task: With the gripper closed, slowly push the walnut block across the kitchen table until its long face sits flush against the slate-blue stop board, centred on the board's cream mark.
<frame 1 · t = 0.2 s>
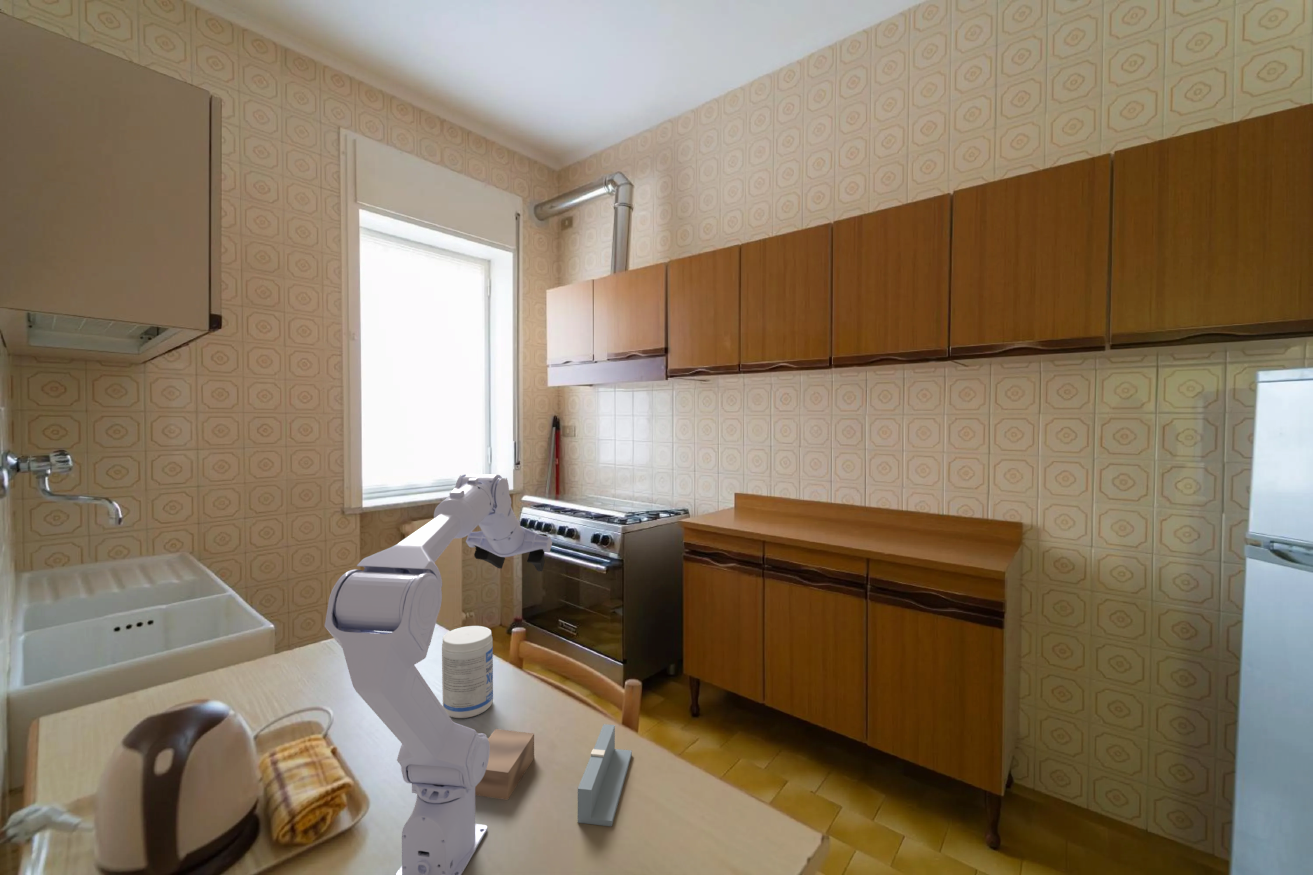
hand: (521, 564, 97), 31 cm above the table, tool tilted 45°, fingers open, 7 cm apart
stop board: (597, 784, 83), on the table
walnut block: (501, 776, 85), on the table
supplement tub: (468, 707, 105), on the table
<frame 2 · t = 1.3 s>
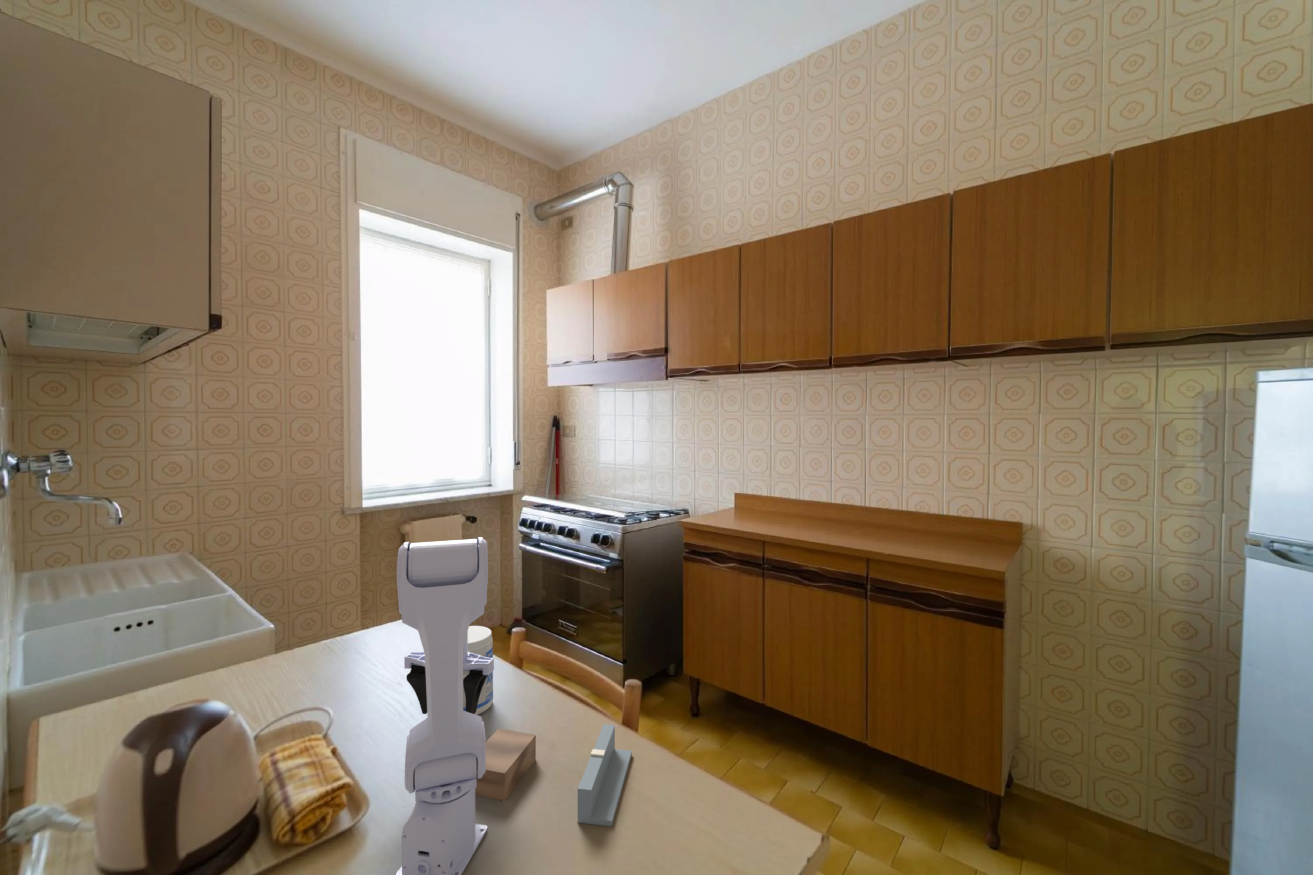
hand: (449, 712, 86), 9 cm above the table, tool pointing down, fingers open, 7 cm apart
nothing on the table moved.
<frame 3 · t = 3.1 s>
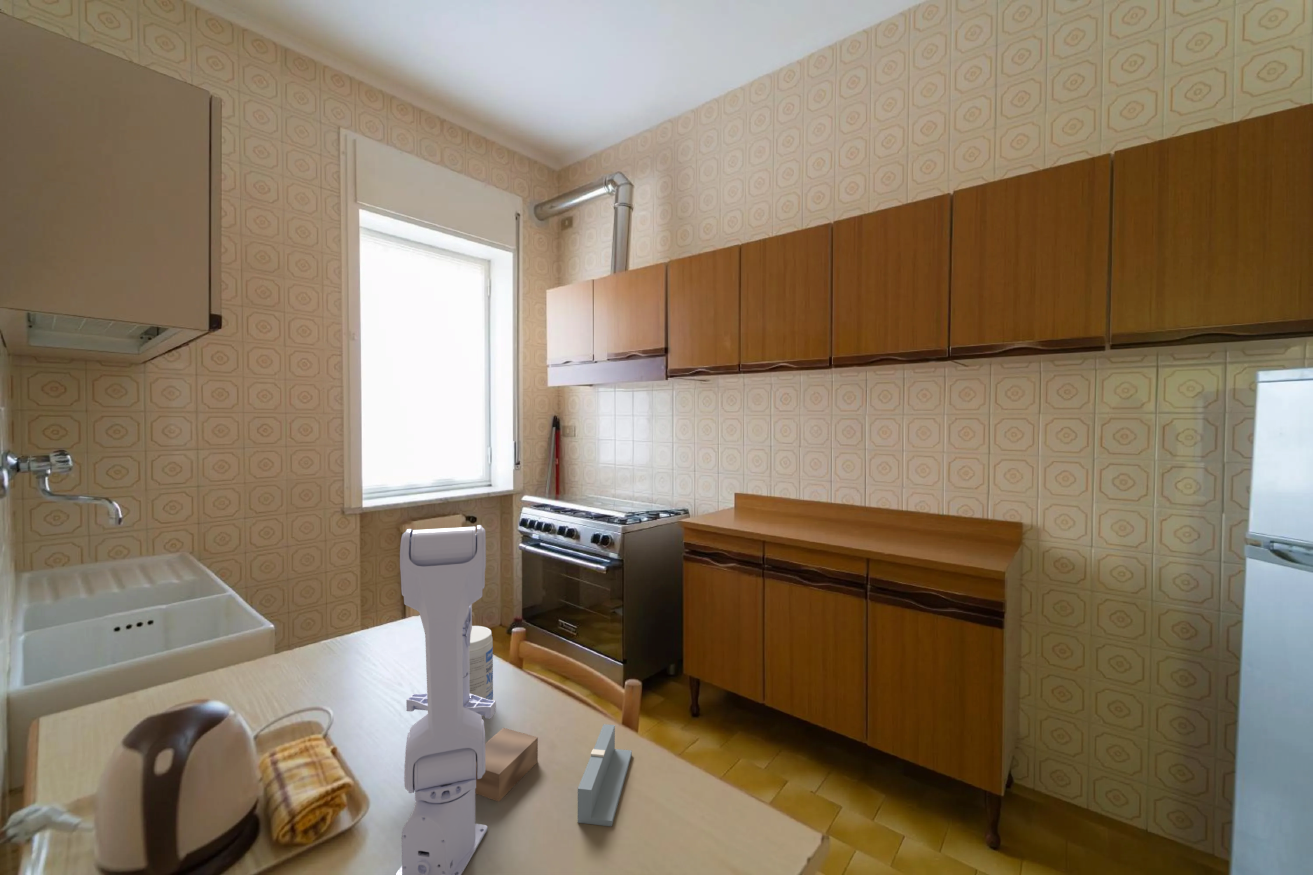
hand: (451, 754, 86), 2 cm above the table, tool pointing down, fingers closed
nothing on the table moved.
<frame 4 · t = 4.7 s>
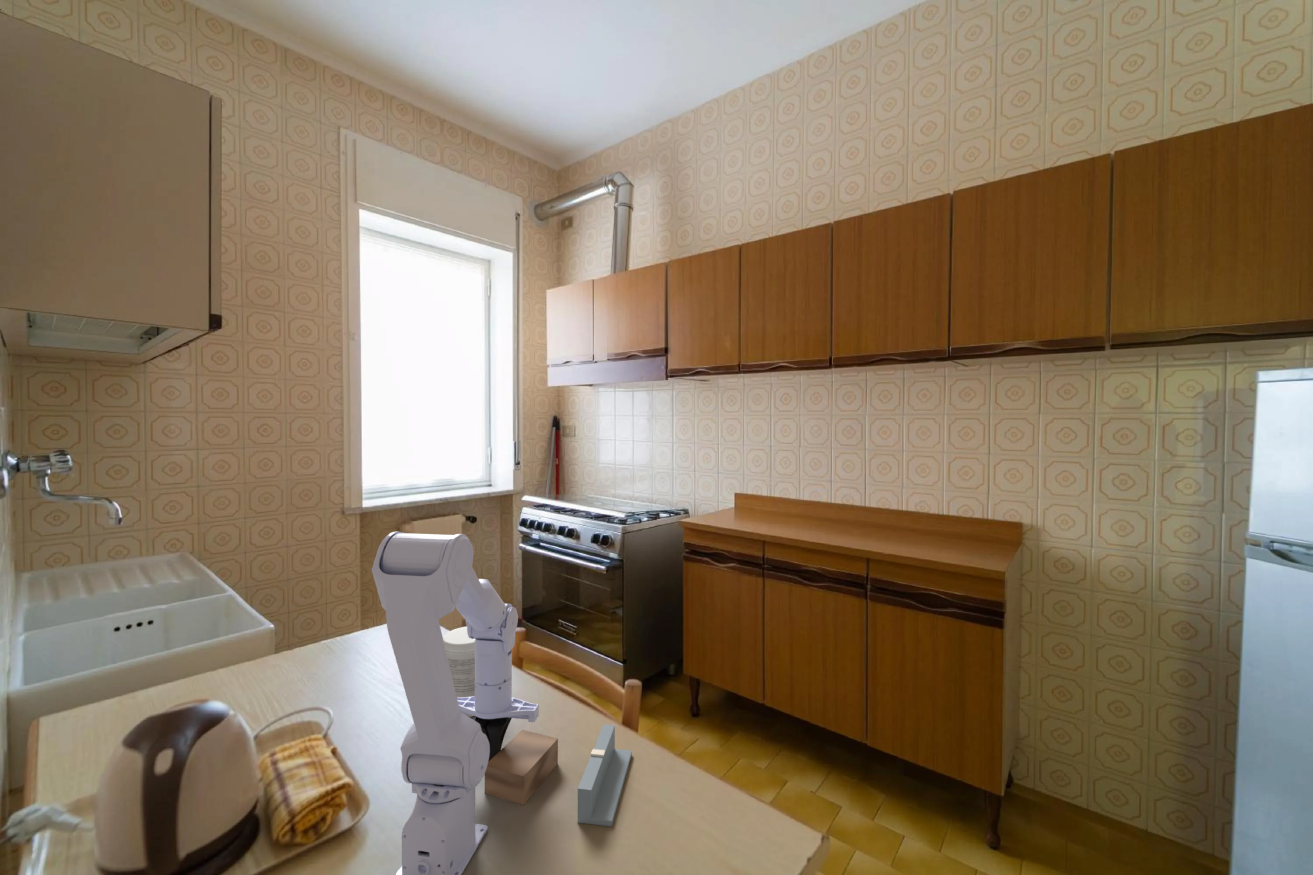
hand: (493, 759, 85), 2 cm above the table, tool pointing down, fingers closed
walnut block: (522, 778, 85), on the table
everything else where it was.
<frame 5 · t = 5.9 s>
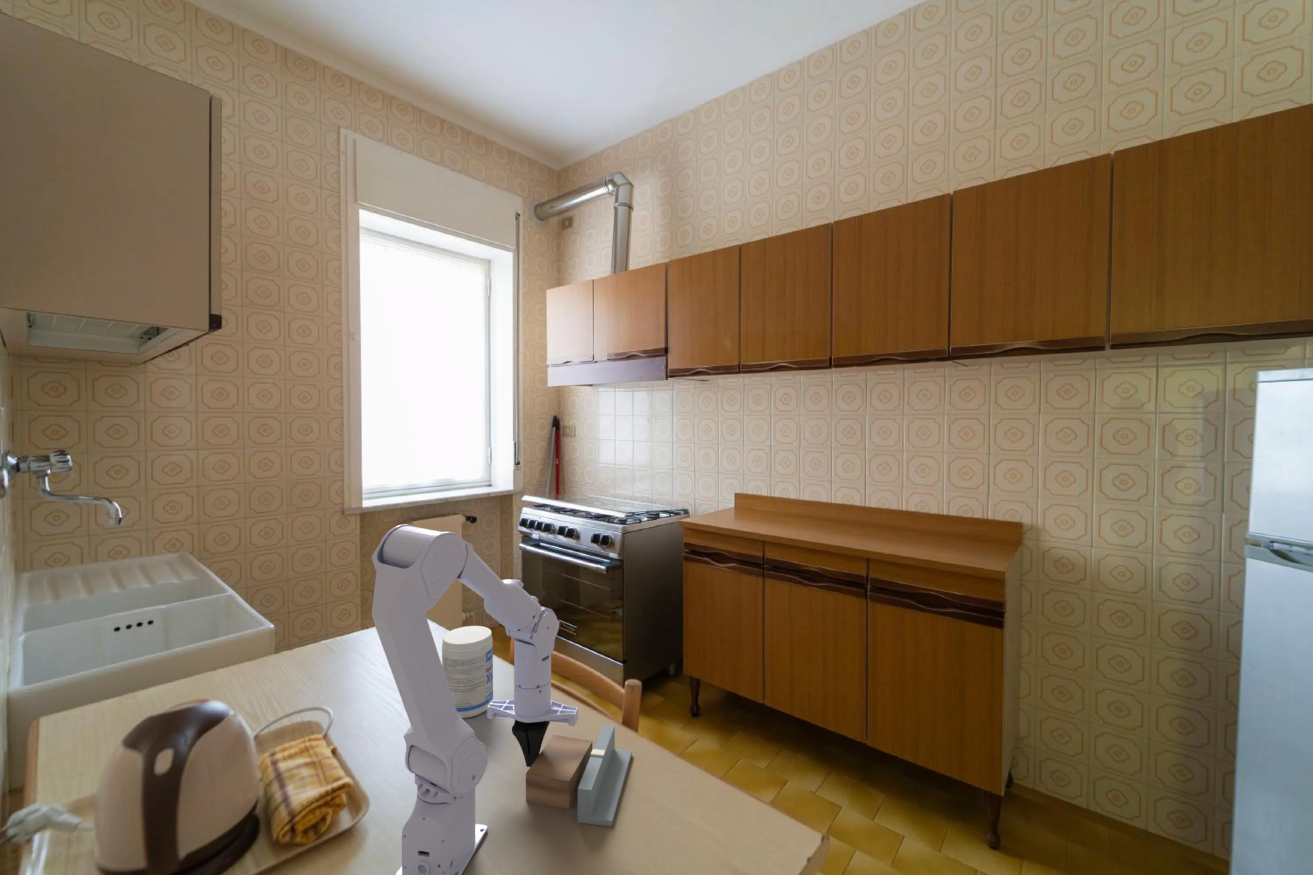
hand: (532, 762, 85), 2 cm above the table, tool pointing down, fingers closed
walnut block: (560, 783, 84), on the table
everything else where it was.
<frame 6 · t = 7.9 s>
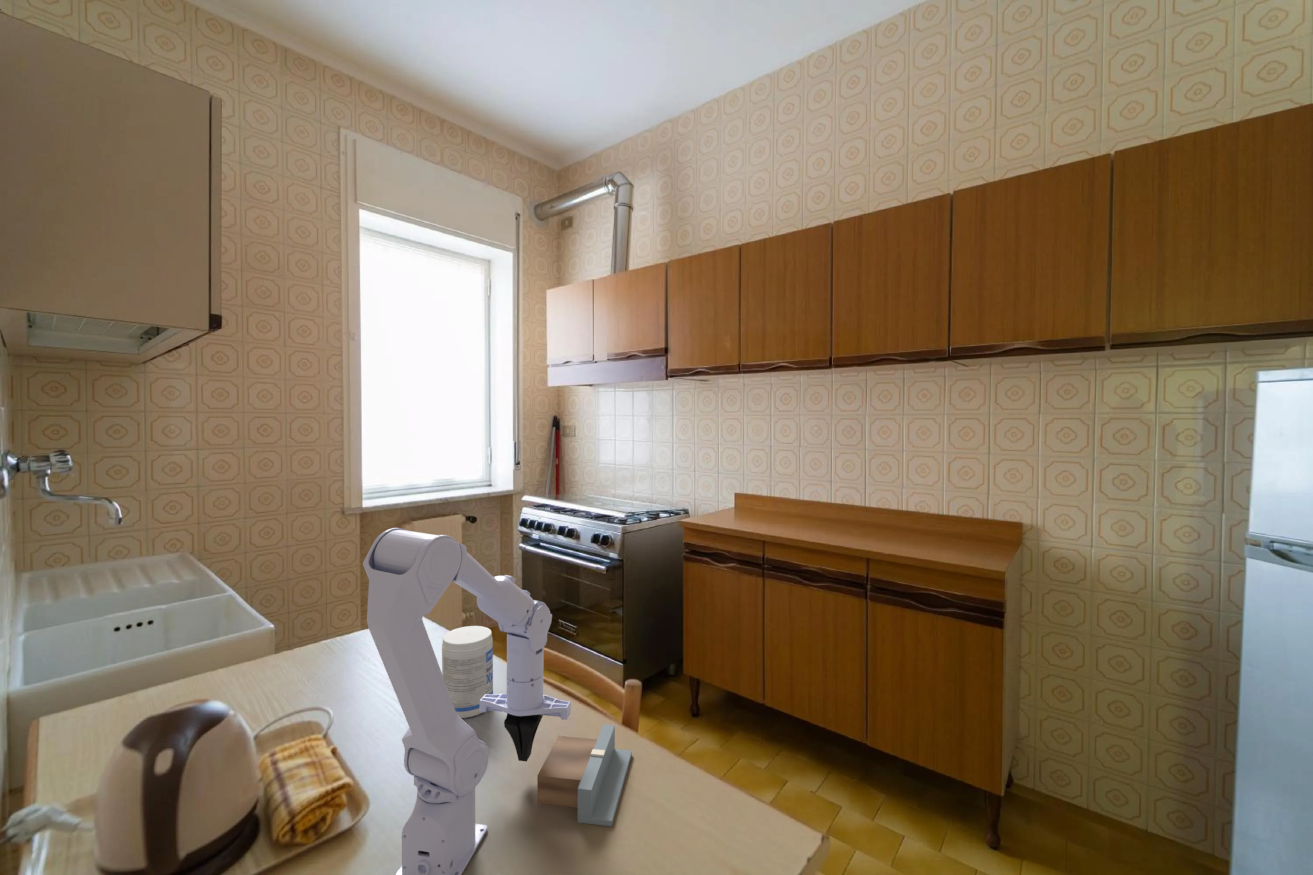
hand: (524, 756, 85), 3 cm above the table, tool pointing down, fingers closed
walnut block: (569, 784, 84), on the table
everything else where it was.
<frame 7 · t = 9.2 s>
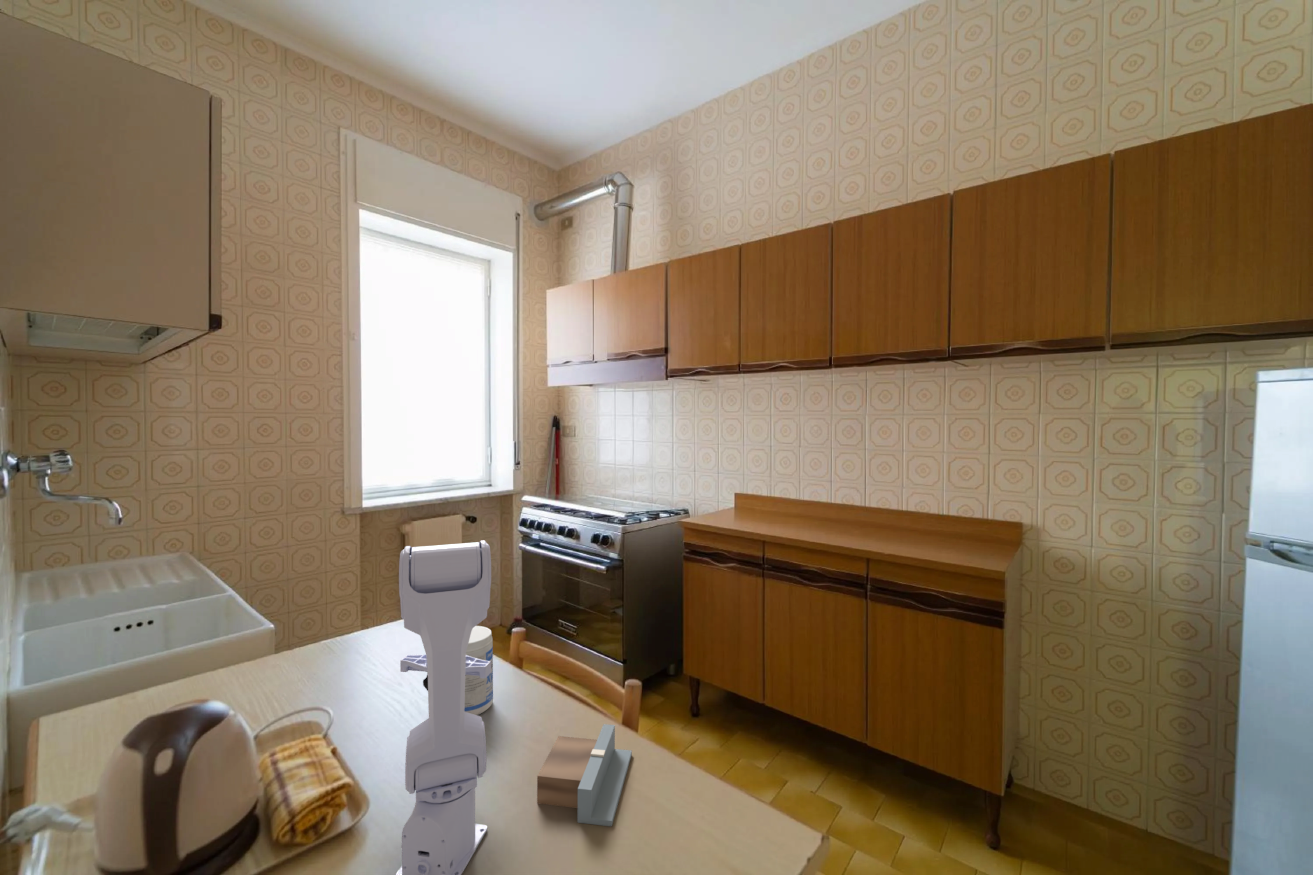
hand: (445, 716, 85), 9 cm above the table, tool pointing down, fingers closed
nothing on the table moved.
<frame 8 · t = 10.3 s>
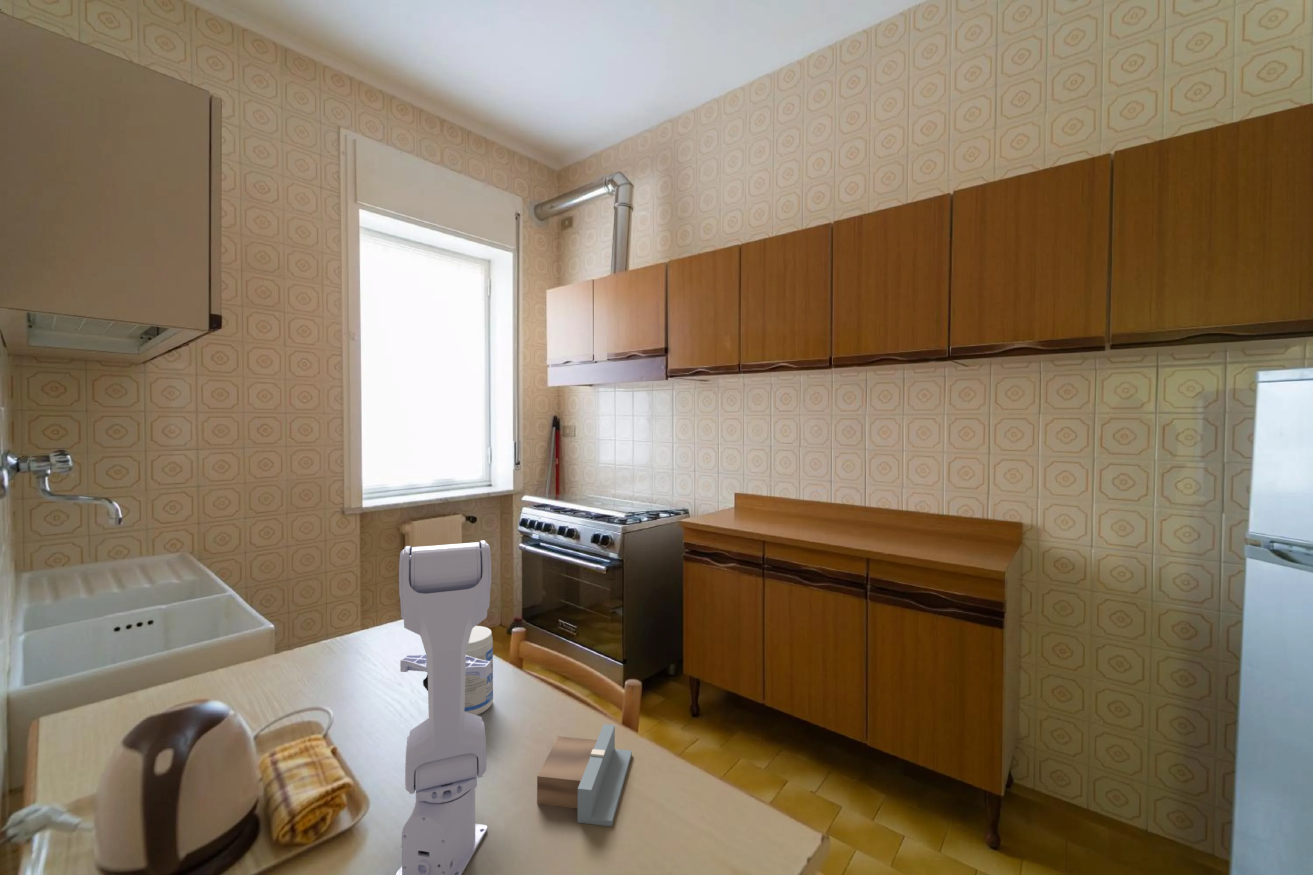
hand: (445, 716, 85), 9 cm above the table, tool pointing down, fingers closed
nothing on the table moved.
at the end: walnut block 0.3 cm from the target spot on the stop board, point 0.0 cm above the stop board's base; walnut block tilted 0° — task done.
